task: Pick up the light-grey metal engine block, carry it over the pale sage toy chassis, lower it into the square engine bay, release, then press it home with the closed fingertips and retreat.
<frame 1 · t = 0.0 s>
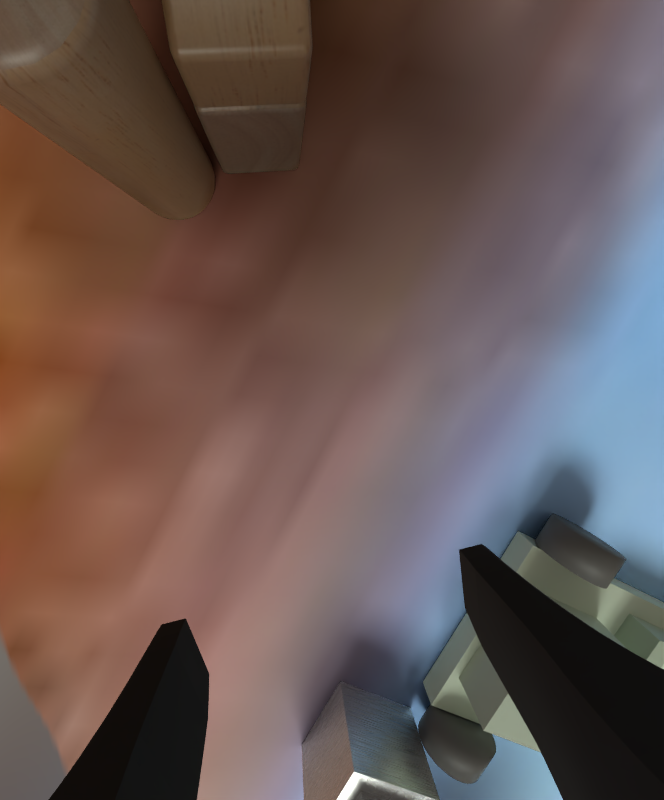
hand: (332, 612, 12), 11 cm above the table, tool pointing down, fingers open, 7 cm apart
wooden toy: (199, 11, 18), on the table
chassis: (584, 659, 26), on the table
engine block: (356, 725, 26), on the table
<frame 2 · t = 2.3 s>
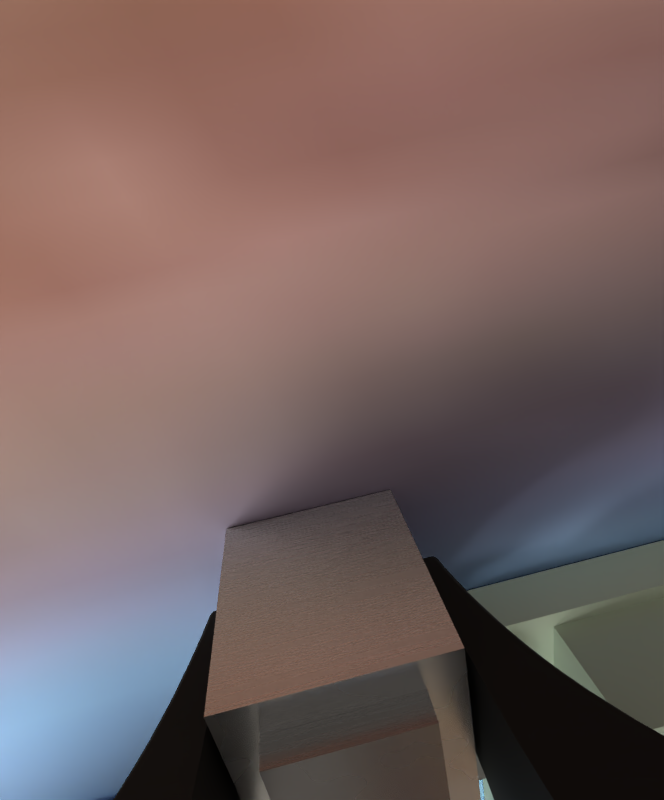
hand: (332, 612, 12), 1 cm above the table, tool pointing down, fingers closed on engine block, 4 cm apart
chassis: (605, 715, 18), on the table
engine block: (325, 573, 13), on the table, touching gripper
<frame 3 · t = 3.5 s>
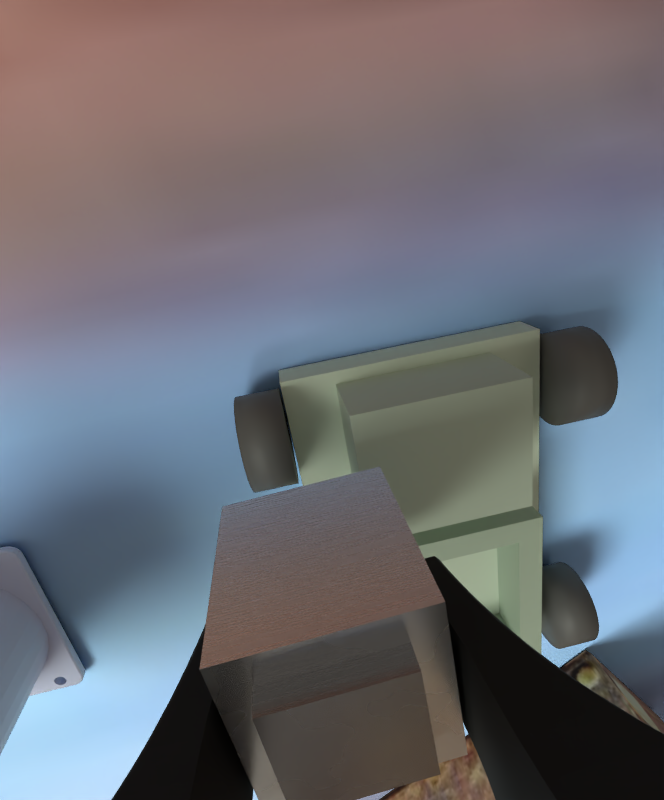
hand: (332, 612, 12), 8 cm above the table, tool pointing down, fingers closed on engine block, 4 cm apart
chassis: (419, 508, 22), on the table
brown rectangular box: (464, 787, 31), on the table
engine block: (318, 549, 14), point 6 cm above the table, touching gripper
when the fingers open (4 cm above the table, at t = 5.2 s): engine block stays where it is, resting on chassis.
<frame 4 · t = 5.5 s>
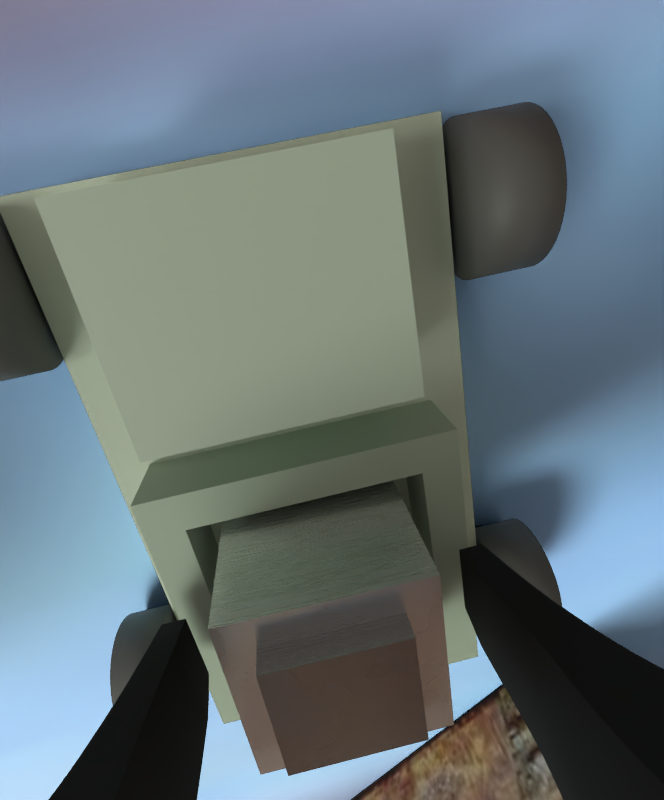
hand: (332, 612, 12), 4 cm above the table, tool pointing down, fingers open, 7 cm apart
chassis: (296, 439, 15), on the table
engine block: (317, 531, 14), point 1 cm above the table, touching chassis
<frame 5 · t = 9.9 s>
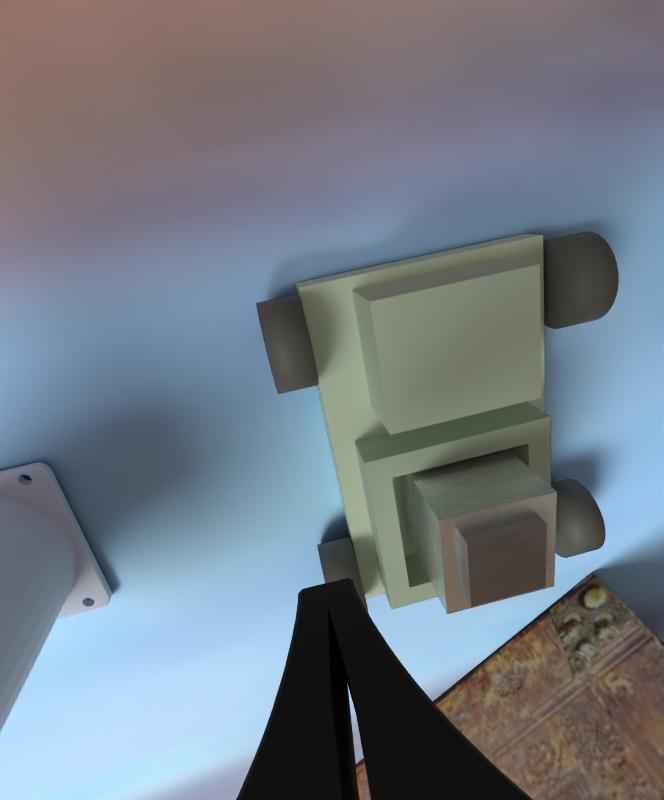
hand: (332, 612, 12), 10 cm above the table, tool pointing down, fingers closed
chassis: (431, 426, 22), on the table
brown rectangular box: (478, 719, 31), on the table
engine block: (448, 485, 22), point 1 cm above the table, touching chassis
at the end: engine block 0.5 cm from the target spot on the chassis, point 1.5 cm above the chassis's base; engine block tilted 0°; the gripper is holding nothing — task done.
